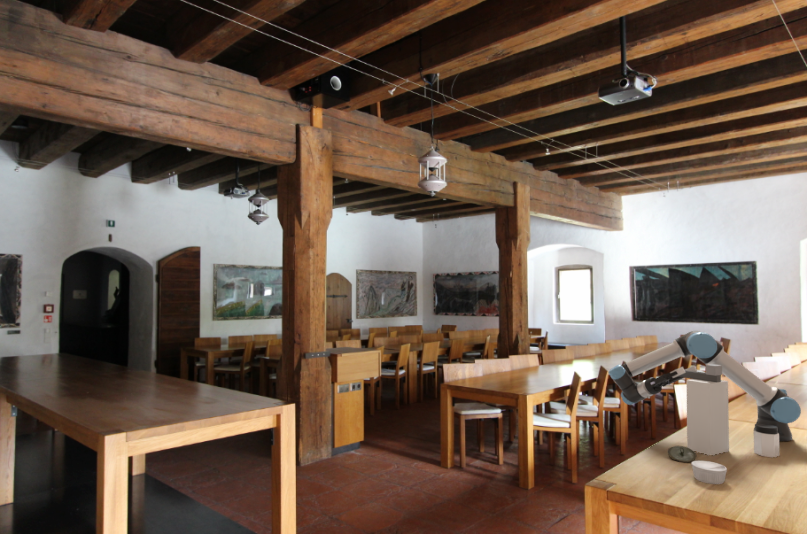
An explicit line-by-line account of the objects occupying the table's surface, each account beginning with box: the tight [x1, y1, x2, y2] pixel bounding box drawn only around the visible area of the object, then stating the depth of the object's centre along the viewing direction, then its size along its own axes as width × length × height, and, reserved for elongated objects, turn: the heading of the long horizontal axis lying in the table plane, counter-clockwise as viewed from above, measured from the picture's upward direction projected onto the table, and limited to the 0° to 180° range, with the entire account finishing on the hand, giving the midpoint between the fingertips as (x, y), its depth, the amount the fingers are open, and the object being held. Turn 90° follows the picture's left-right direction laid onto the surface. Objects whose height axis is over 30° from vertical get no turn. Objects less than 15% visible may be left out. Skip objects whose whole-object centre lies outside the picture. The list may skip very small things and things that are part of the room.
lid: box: [667, 445, 697, 463], centre depth 215 cm, size 11×10×5 cm
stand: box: [686, 378, 730, 456], centre depth 228 cm, size 14×10×30 cm
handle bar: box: [674, 364, 723, 383], centre depth 233 cm, size 5×19×7 cm, turn 30°
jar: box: [753, 423, 780, 458], centre depth 223 cm, size 9×8×12 cm
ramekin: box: [690, 460, 728, 485], centre depth 191 cm, size 11×11×5 cm
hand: (689, 369), depth 236 cm, fingers open, 8 cm apart
